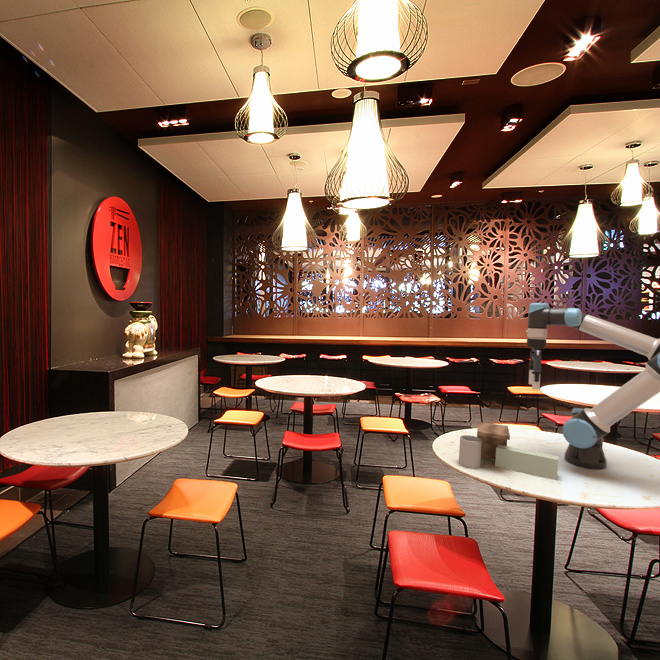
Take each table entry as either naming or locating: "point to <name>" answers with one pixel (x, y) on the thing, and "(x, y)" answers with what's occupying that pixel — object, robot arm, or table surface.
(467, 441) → the mug
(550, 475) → the pale green block
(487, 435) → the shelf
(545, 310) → the robot arm
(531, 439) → the table surface
